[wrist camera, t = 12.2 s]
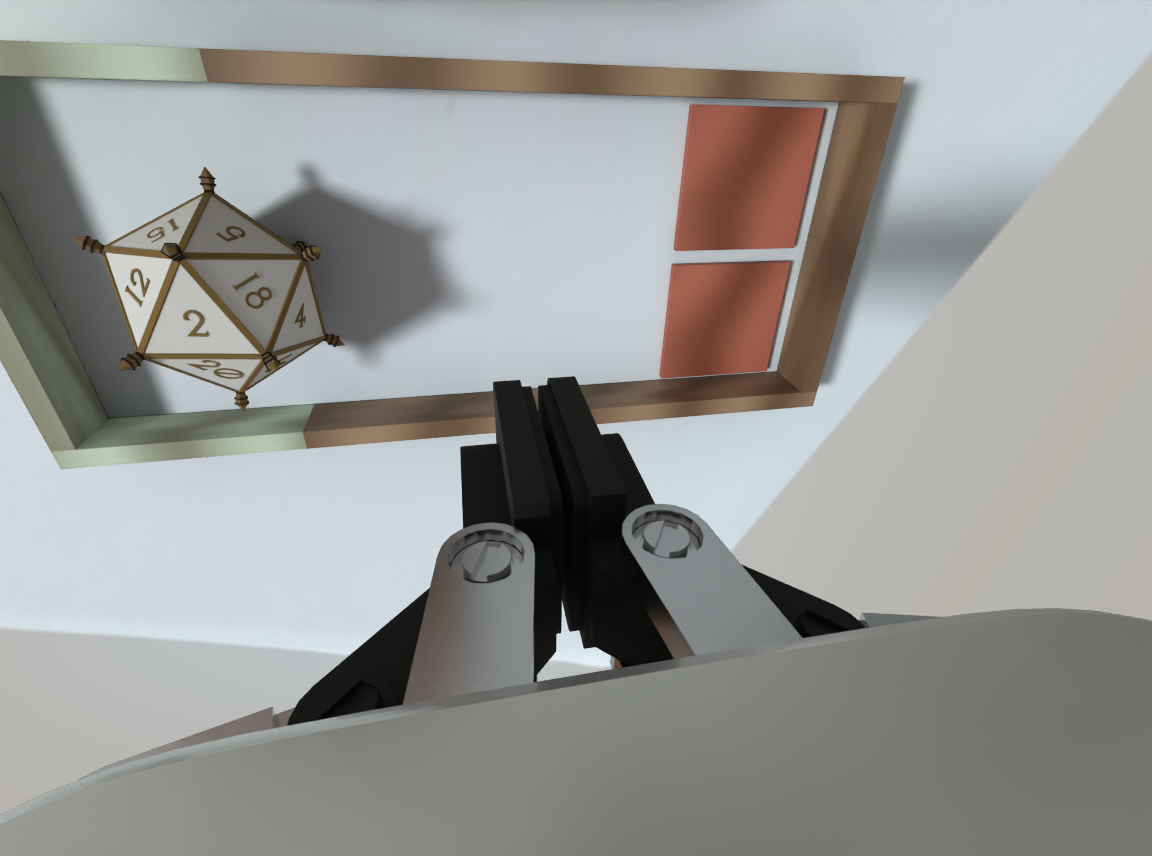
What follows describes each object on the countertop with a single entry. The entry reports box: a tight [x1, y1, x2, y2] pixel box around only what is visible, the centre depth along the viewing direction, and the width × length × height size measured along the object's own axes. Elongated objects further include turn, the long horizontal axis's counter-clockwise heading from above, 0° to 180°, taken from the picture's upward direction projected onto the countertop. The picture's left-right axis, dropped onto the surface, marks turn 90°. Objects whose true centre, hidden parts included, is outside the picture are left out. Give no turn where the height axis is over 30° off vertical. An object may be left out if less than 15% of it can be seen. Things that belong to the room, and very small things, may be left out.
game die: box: [72, 167, 344, 411], centre depth 23 cm, size 9×8×10 cm
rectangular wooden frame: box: [0, 40, 905, 469], centre depth 27 cm, size 40×17×3 cm, turn 89°
